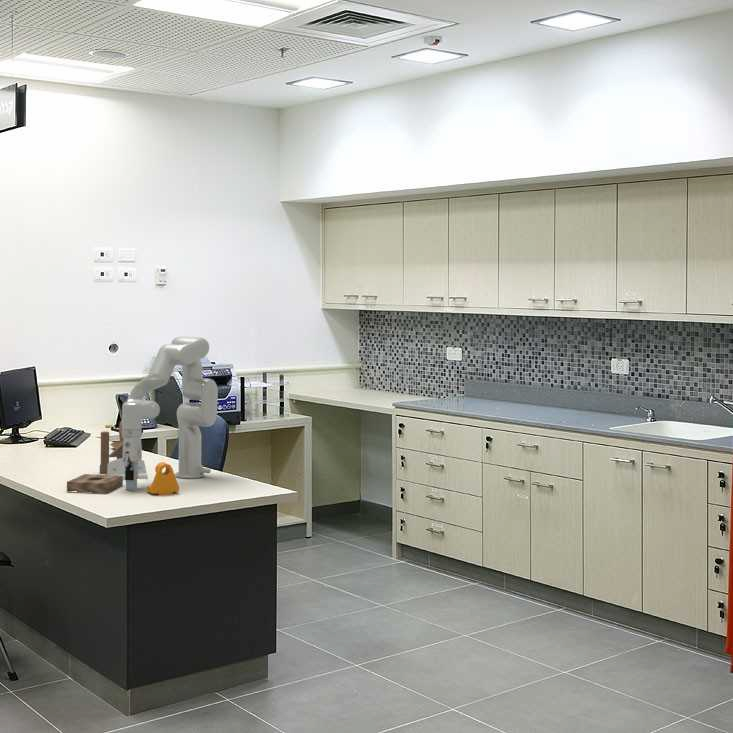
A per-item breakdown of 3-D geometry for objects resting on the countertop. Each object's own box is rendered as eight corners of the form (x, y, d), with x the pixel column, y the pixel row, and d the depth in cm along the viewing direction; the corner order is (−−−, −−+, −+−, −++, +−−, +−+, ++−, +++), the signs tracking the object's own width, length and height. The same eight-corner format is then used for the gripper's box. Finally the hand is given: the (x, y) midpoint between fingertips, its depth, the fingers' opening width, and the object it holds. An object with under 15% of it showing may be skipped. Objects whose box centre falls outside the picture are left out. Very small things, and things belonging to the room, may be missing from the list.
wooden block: (126, 473, 439) (126, 431, 438) (100, 474, 435) (100, 432, 434) (124, 471, 442) (125, 430, 441) (99, 472, 438) (99, 431, 437)
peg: (138, 488, 405) (138, 453, 404) (134, 490, 401) (135, 455, 400) (127, 488, 405) (128, 453, 404) (124, 490, 401) (124, 454, 400)
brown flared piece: (141, 451, 501) (142, 421, 500) (117, 452, 495) (118, 422, 494) (133, 447, 514) (133, 417, 513) (109, 448, 508) (109, 418, 507)
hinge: (108, 481, 418) (106, 457, 421) (106, 483, 423) (104, 459, 425) (148, 479, 426) (146, 455, 429) (145, 481, 430) (143, 457, 433)
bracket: (172, 490, 403) (172, 460, 403) (178, 493, 397) (179, 463, 396) (146, 492, 398) (146, 462, 397) (152, 495, 392) (152, 464, 391)
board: (122, 485, 410) (122, 475, 410) (106, 493, 393) (106, 483, 392) (84, 483, 412) (84, 474, 412) (66, 492, 394) (66, 481, 394)
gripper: (133, 436, 393) (133, 483, 394) (147, 430, 409) (147, 475, 411) (115, 435, 393) (114, 482, 395) (129, 430, 410) (129, 475, 411)
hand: (131, 478), depth 403 cm, fingers closed on peg, 4 cm apart
